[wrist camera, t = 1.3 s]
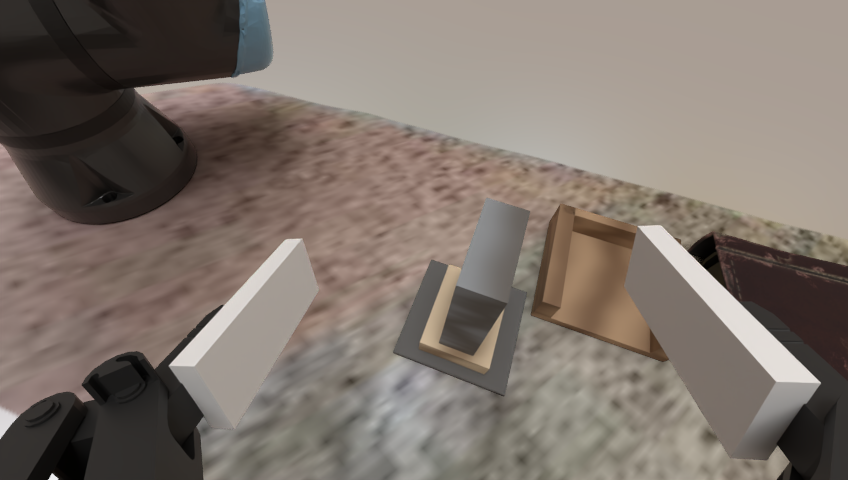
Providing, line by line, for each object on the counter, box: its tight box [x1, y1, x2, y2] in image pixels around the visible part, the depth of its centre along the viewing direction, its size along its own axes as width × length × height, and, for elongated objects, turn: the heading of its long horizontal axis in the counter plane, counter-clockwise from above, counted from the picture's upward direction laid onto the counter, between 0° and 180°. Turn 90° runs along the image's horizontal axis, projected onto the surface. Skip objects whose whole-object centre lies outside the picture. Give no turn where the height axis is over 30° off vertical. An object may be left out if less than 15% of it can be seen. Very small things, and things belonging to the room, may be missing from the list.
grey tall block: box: [419, 198, 530, 374], centre depth 26 cm, size 6×8×13 cm
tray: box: [531, 204, 681, 362], centre depth 34 cm, size 12×12×3 cm
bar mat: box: [393, 260, 527, 396], centre depth 32 cm, size 10×10×1 cm
